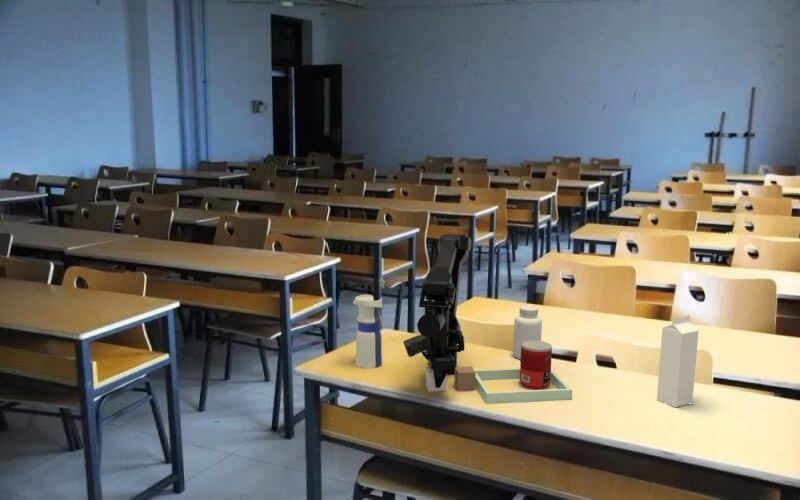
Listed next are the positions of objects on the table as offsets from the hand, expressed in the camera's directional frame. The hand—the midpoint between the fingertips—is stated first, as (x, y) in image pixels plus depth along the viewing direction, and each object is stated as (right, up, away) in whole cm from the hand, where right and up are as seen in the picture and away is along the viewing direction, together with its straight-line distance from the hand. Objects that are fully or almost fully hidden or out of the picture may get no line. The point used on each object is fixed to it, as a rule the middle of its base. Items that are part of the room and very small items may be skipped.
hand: (436, 384), depth 188 cm
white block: (0, -1, 0) cm, 1 cm away
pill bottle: (+28, +3, +26) cm, 38 cm away
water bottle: (-18, +2, +18) cm, 26 cm away
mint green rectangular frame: (+22, -1, 0) cm, 22 cm away
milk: (+59, -3, -7) cm, 60 cm away
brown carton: (+8, -1, +1) cm, 8 cm away
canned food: (+26, -1, +3) cm, 27 cm away
